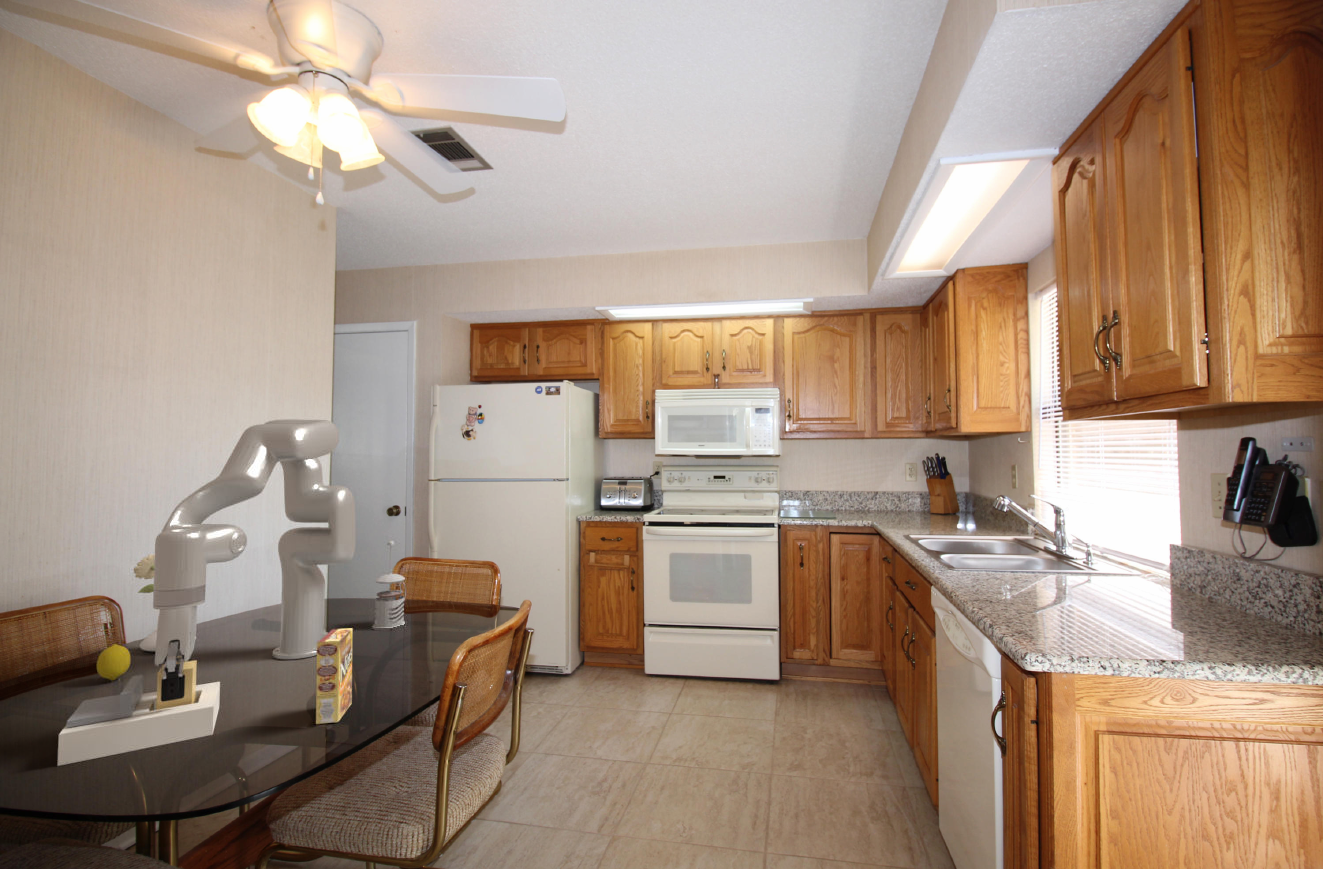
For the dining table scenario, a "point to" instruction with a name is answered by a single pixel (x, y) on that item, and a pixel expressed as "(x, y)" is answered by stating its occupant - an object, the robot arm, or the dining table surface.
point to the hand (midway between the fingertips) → (176, 690)
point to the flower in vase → (147, 572)
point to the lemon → (113, 662)
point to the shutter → (109, 705)
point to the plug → (189, 687)
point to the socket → (142, 727)
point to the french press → (389, 601)
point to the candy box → (334, 675)
